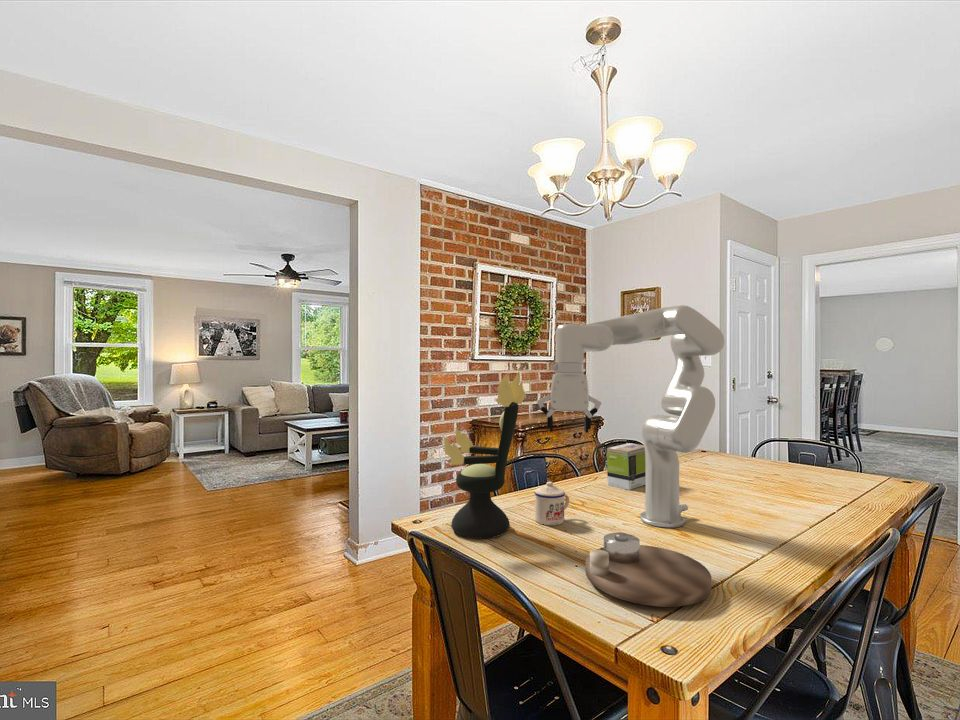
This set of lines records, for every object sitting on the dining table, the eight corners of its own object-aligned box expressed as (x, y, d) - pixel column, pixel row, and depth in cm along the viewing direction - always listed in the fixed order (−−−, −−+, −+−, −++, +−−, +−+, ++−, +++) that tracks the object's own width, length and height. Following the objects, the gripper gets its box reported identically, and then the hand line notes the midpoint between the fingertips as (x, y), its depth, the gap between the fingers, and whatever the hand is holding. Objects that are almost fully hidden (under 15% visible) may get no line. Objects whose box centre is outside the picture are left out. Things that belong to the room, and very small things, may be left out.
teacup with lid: (547, 528, 141) (547, 488, 141) (528, 519, 149) (528, 481, 149) (578, 520, 147) (578, 482, 147) (558, 512, 155) (558, 475, 155)
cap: (620, 546, 119) (620, 526, 119) (647, 558, 112) (647, 536, 112) (596, 554, 115) (596, 532, 115) (622, 566, 108) (622, 543, 108)
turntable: (665, 548, 123) (665, 524, 123) (740, 599, 97) (740, 568, 97) (568, 557, 118) (567, 532, 118) (619, 613, 92) (619, 581, 92)
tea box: (629, 478, 197) (628, 442, 197) (651, 483, 189) (651, 445, 189) (606, 485, 187) (606, 446, 187) (629, 490, 180) (629, 450, 179)
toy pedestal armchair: (454, 517, 151) (453, 371, 151) (526, 519, 149) (526, 371, 148) (443, 540, 132) (443, 373, 132) (526, 543, 130) (525, 373, 129)
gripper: (538, 369, 131) (537, 432, 131) (603, 370, 130) (602, 434, 130) (537, 368, 139) (536, 428, 139) (599, 369, 137) (598, 430, 137)
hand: (568, 431), depth 134 cm, fingers open, 9 cm apart
